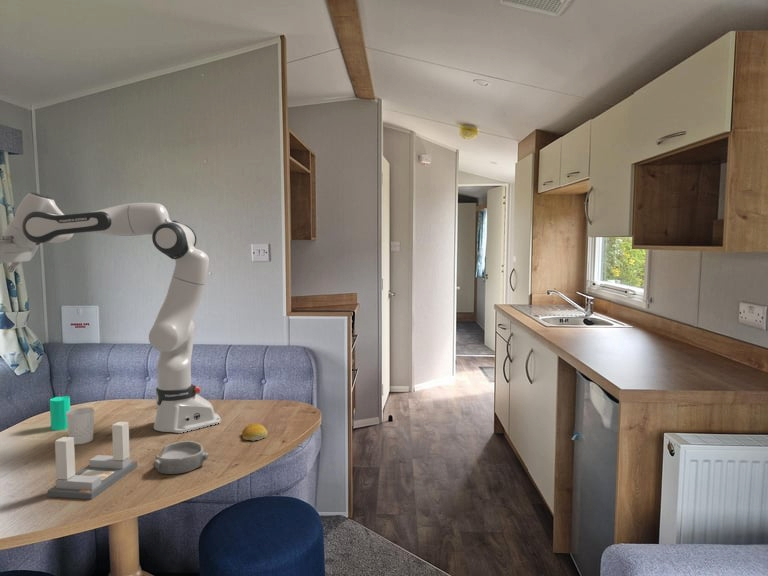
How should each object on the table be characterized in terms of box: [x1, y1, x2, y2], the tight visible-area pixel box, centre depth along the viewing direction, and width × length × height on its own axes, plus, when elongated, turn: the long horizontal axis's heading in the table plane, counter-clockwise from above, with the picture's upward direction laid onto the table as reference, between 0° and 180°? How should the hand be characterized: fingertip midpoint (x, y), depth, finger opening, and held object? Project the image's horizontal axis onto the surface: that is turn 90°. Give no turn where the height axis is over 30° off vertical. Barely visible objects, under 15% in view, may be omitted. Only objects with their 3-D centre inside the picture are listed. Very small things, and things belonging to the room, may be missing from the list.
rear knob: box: [111, 421, 131, 460], centre depth 148 cm, size 3×3×10 cm
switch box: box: [47, 454, 138, 500], centre depth 143 cm, size 12×20×4 cm, turn 174°
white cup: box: [66, 406, 95, 445], centre depth 171 cm, size 8×8×10 cm
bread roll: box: [241, 423, 269, 442], centre depth 177 cm, size 8×9×4 cm
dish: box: [153, 440, 209, 475], centre depth 153 cm, size 14×14×5 cm
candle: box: [49, 393, 71, 431], centre depth 183 cm, size 6×6×12 cm
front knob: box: [54, 436, 76, 480], centre depth 136 cm, size 3×3×10 cm
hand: (1, 272), depth 177 cm, fingers open, 8 cm apart
